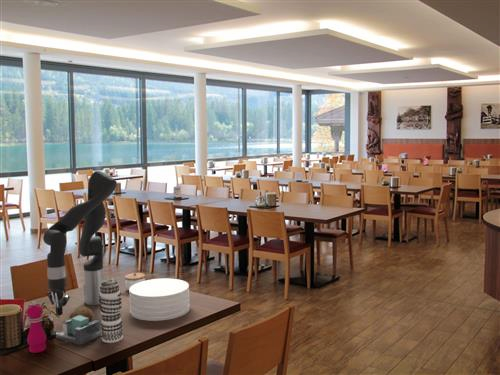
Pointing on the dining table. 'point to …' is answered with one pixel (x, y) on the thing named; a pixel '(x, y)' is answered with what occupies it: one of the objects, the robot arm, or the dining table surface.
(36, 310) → the pepper mill
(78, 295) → the dining table surface
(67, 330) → the bar
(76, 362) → the dining table surface
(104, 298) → the white patterned cylinder
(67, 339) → the vise
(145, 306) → the plate stack
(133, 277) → the lidded jar
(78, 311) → the bread roll
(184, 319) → the dining table surface
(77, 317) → the teal block
